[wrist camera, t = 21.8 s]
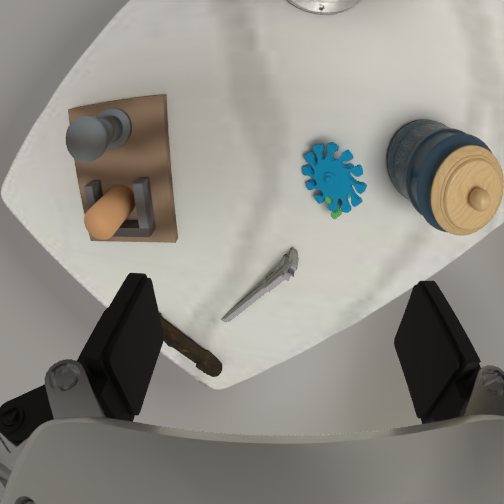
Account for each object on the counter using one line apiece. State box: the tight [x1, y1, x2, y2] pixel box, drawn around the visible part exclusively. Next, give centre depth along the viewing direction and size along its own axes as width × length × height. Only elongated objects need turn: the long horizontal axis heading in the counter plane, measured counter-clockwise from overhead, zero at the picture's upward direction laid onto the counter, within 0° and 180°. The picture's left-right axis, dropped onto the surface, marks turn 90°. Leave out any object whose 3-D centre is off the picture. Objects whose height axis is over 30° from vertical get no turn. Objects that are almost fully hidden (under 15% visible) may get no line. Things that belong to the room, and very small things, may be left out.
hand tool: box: [159, 313, 222, 377], centre depth 62 cm, size 19×4×5 cm, turn 41°
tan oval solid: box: [84, 185, 136, 240], centre depth 43 cm, size 5×5×8 cm
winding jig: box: [66, 94, 178, 243], centre depth 42 cm, size 23×16×10 cm
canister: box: [387, 120, 504, 235], centre depth 35 cm, size 13×13×18 cm
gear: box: [302, 142, 367, 219], centre depth 42 cm, size 11×6×10 cm
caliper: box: [221, 248, 298, 322], centre depth 53 cm, size 20×1×6 cm, turn 143°
